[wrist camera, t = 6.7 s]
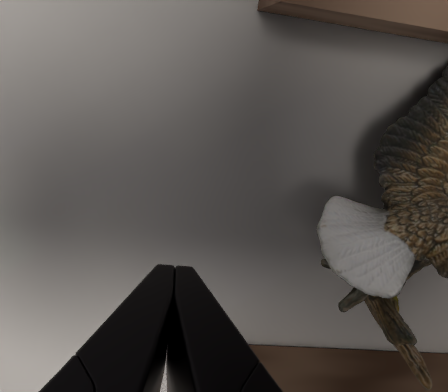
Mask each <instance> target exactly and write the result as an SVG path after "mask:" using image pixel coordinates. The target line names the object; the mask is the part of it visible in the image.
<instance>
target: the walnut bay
mask: <svg viewBox="0 0 448 392" xmlns="http://www.w3.org/2000/svg"><path fill="white" fill-rule="evenodd" d="M257 10H258V11H264V12H269V13H275V14H281V15H287V16H293V17H298V18H304V19H310V20H316V21H321V22H327V23H333V24H339V25H344V26H350V27H356V28H362V29H367V30H373V31H379V32H385V33H391V34H396V35H402V36H408V37H414V38H419V39H425V40H431V41H437V42H442V43H448V0H259V3H258V9H257ZM249 346H250V347H251V349H252V350H253V352H254V353H255V354H256V356H257V357H258V359H259V360H260V362H261V363H262V364H263V365H264V367H265V368H266V369H267V371H268V372H269V374H270V375H271V376H272V378H273V379H274V380H275V382H276V383H277V384H278V386H279V387H280V388H281V389H282V391H283V392H448V354H440V353H420V355H421V356H422V358H423V359H424V361H425V364H426V367H427V370H428V372H429V374H430V376H431V379H432V388H431V389H430V390H425V388H424V387H423V386H422V385H421V383H420V382H419V381H418V379H417V378H416V376H415V375H414V374H413V372H412V371H411V369H410V367H409V366H408V364H407V362H406V361H405V359H404V358H403V357H402V355H401V354H400V352H396V351H373V350H351V349H329V348H307V347H284V346H262V345H249Z"/></svg>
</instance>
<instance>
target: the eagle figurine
mask: <svg viewBox="0 0 448 392" xmlns="http://www.w3.org/2000/svg"><path fill="white" fill-rule="evenodd" d="M374 158H375V162H374V168H375V169H376V170H377V171H378V172H379V173H380V177H379V184H380V186H381V187H383V188H384V189H385V192H384V193H383V195H382V197H381V199H382V202H383V203H384V208H382V209H379V208H374V207H372V206H368V205H365V204H361V203H358V202H355V201H352V200H349V199H347V198H344V197H340V196H333V197H331V198H330V199H329V201H328V202H327V203H326V205H325V206H324V210H323V214H322V217H321V219H320V222H319V223H318V226H317V230H316V231H317V235H318V237H319V240H320V244H321V251H322V254H323V256H324V258H325V259H323V260H321V265H322V266H323V267H325V268H329V269H332V271H333V272H334V273H335V274H336V275H337V276H339V277H340V278H342V279H343V280H345V281H346V282H347V283H348V284H349V285H351V286H353V287H354V288H353V289H352V291H351V292H350V293H349V294H348V295H347V296H346V297H345V298H344V299H342V300H341V301H340V302H339V304H338V306H339V310H340V311H341V312H346V311H348V310H349V309H351V308H352V307H354V306H355V305H357V304H359V303H361V302H362V301H365V303H366V304H367V306H368V308H369V310H370V312H371V313H372V315H373V317H374V318H375V320H376V322H377V323H378V324H379V326H380V327H381V329H382V330H383V332H384V334H385V336H386V338H387V340H388V341H389V342H390V343H392V344H393V345H394V346H395V347H396V348H397V350H398V351H399V352H400V354H401V355H402V357H403V358H404V359H405V361H406V362H407V364H408V366H409V367H410V369H411V371H412V372H413V374H414V375H415V376H416V378H417V379H418V381H419V382H420V383H421V385H422V386H423V387H424V388H425V390H430V389H431V388H432V379H431V376H430V374H429V372H428V370H427V367H426V364H425V361H424V359H423V358H422V356H421V355H420V353H419V352H418V350H417V348H416V347H415V346H414V345H415V344H416V343H417V340H416V338H415V336H414V334H413V333H412V331H411V329H410V328H409V326H408V325H407V324H406V323H405V322H404V320H403V318H402V317H401V316H400V314H399V306H398V298H397V295H398V294H400V291H401V290H402V287H403V286H404V284H405V282H406V280H407V279H409V278H410V277H411V276H412V275H413V274H414V273H416V272H418V271H419V270H421V269H422V268H423V267H425V266H428V265H430V264H432V265H433V266H434V267H435V268H436V269H437V271H438V274H439V275H441V276H442V277H445V278H448V66H447V67H446V68H445V69H444V70H443V76H442V78H439V79H438V80H437V81H436V82H435V83H434V84H432V85H431V86H430V87H429V89H428V96H427V97H422V98H421V99H420V100H419V102H418V104H417V105H415V106H413V107H412V108H411V109H410V111H409V114H408V116H407V117H400V118H398V119H397V122H396V123H394V124H391V125H390V126H389V127H388V128H387V131H386V133H385V134H384V135H383V136H382V139H381V143H380V147H379V148H378V149H377V150H376V151H375V153H374Z"/></svg>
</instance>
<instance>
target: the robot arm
mask: <svg viewBox="0 0 448 392" xmlns="http://www.w3.org/2000/svg"><path fill="white" fill-rule="evenodd" d="M167 345H168V346H167ZM166 354H167V361H166ZM165 363H166V368H167V392H283V391H282V389H281V388H280V387H279V386H278V384H277V383H276V382H275V380H274V379H273V378H272V376H271V375H270V374H269V372H268V371H267V369H266V368H265V367H264V365H263V364H262V363H261V362H260V360H259V359H258V357H257V356H256V354H255V353H254V352H253V350H252V349H251V347H250V346H249V345H248V343H247V342H246V340H245V339H244V338H243V336H242V335H241V333H240V332H239V331H238V329H237V328H236V327H235V325H234V324H233V322H232V321H231V320H230V318H229V317H228V315H227V314H226V313H225V311H224V310H223V308H222V307H221V306H220V304H219V303H218V301H217V300H216V299H215V297H214V296H213V294H212V293H211V292H210V290H209V289H208V288H207V286H206V285H205V283H204V282H203V281H202V279H201V278H200V276H199V275H198V274H197V272H196V271H195V269H194V268H193V267H190V266H176V267H174V266H173V265H163V264H158V265H156V266H155V267H154V269H153V270H152V271H151V272H150V273H149V274H148V275H147V276H146V277H145V278H144V279H143V280H142V282H141V283H140V284H139V285H138V286H137V287H136V288H135V289H134V290H133V291H132V292H131V294H130V295H129V296H128V297H127V298H126V299H125V300H124V301H123V302H122V303H121V304H120V306H119V307H118V308H117V309H116V310H115V311H114V312H113V313H112V314H111V315H110V316H109V317H108V319H107V320H106V321H105V322H104V323H103V324H102V325H101V326H100V327H99V328H98V329H97V331H96V332H95V333H94V334H93V335H92V336H91V337H90V338H89V339H88V340H87V341H86V343H85V344H84V345H83V346H82V347H81V348H80V349H79V350H78V351H77V352H76V355H74V356H72V357H71V359H70V360H69V361H68V362H67V363H66V364H65V365H64V366H63V367H62V368H61V370H60V371H59V372H58V373H57V374H56V375H55V376H54V377H53V378H52V379H51V380H50V381H49V382H48V383H47V384H46V385H45V386H44V387H43V388H42V389H41V390H40V391H39V392H160V388H161V383H162V378H163V374H164V368H165Z"/></svg>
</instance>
